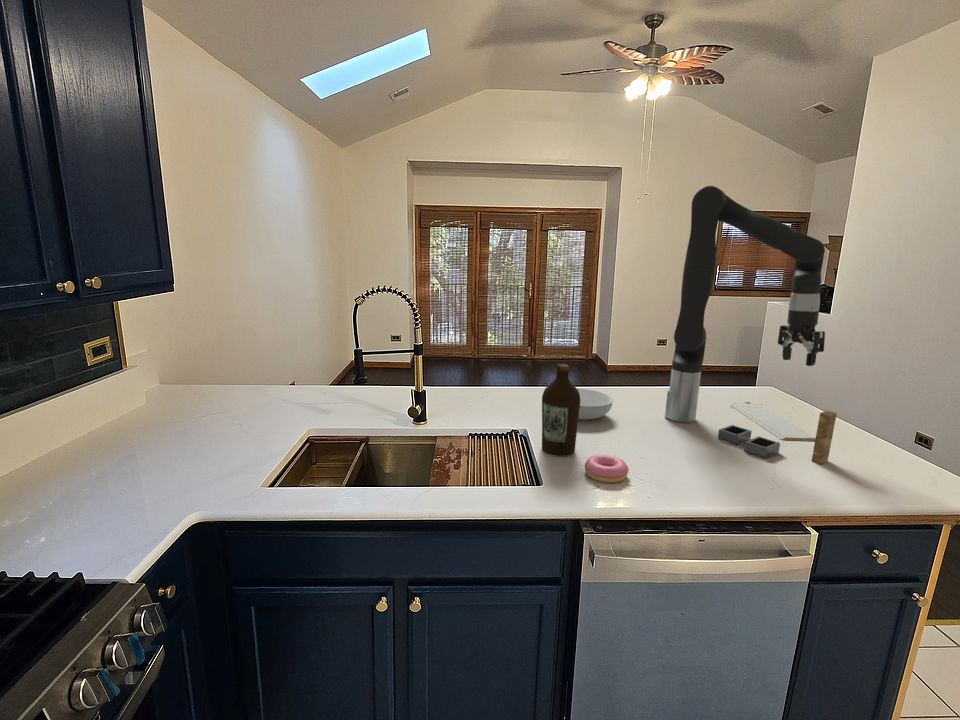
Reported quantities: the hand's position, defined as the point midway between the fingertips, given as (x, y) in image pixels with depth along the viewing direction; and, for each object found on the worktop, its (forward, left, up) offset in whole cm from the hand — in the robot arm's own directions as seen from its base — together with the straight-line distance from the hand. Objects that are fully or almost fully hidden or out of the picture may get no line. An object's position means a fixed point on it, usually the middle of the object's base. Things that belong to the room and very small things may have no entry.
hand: (798, 362), depth 149 cm
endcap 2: (-5, -17, -24) cm, 30 cm away
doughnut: (-36, -58, -25) cm, 73 cm away
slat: (+9, -14, -24) cm, 29 cm away
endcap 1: (-13, -11, -24) cm, 30 cm away
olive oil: (-53, -52, -24) cm, 78 cm away
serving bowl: (-60, -19, -24) cm, 67 cm away
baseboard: (-6, +13, -25) cm, 28 cm away
